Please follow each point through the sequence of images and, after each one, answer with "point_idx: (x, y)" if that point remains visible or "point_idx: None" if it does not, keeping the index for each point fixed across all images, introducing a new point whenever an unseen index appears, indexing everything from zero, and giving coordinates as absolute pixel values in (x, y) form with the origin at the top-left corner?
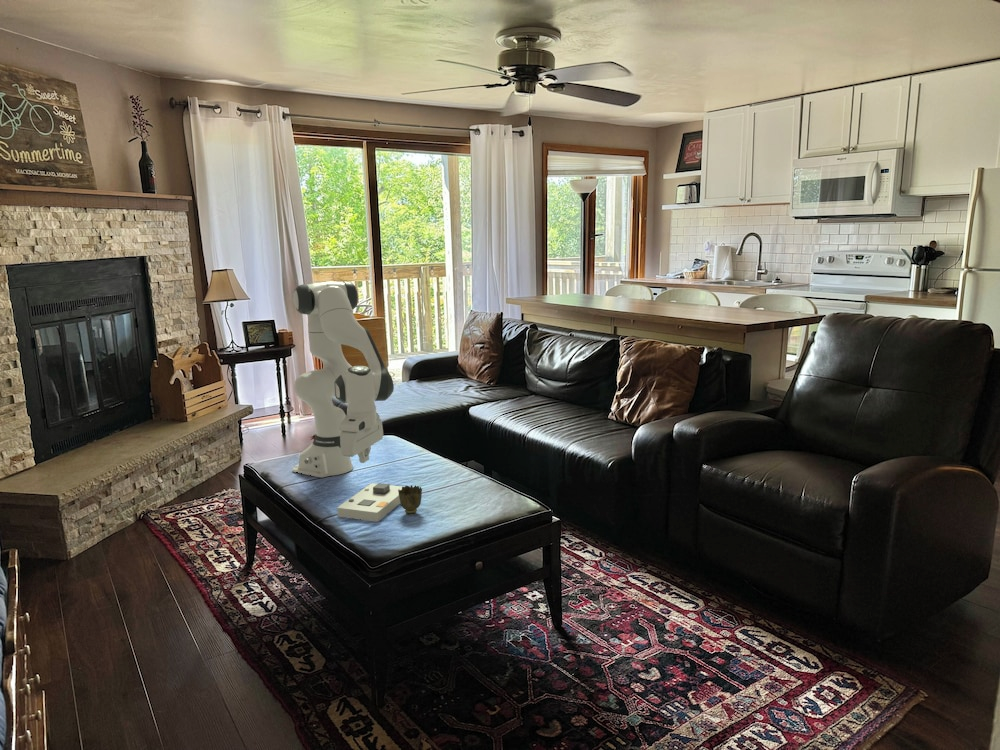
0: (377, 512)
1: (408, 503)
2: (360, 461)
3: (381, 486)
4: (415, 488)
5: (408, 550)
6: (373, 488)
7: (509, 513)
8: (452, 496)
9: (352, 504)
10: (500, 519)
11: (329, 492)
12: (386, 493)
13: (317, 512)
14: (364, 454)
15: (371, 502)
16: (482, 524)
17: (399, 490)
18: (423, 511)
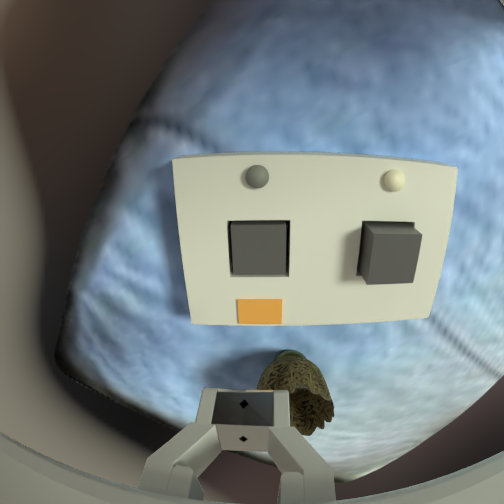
0: (194, 323)
1: None
2: (204, 397)
3: (387, 264)
4: (329, 409)
5: (117, 399)
6: (372, 234)
7: None
8: (408, 389)
9: (223, 203)
10: None
11: (386, 7)
12: None
13: (193, 59)
14: (271, 439)
15: (263, 269)
16: (270, 459)
17: (289, 390)
18: None
